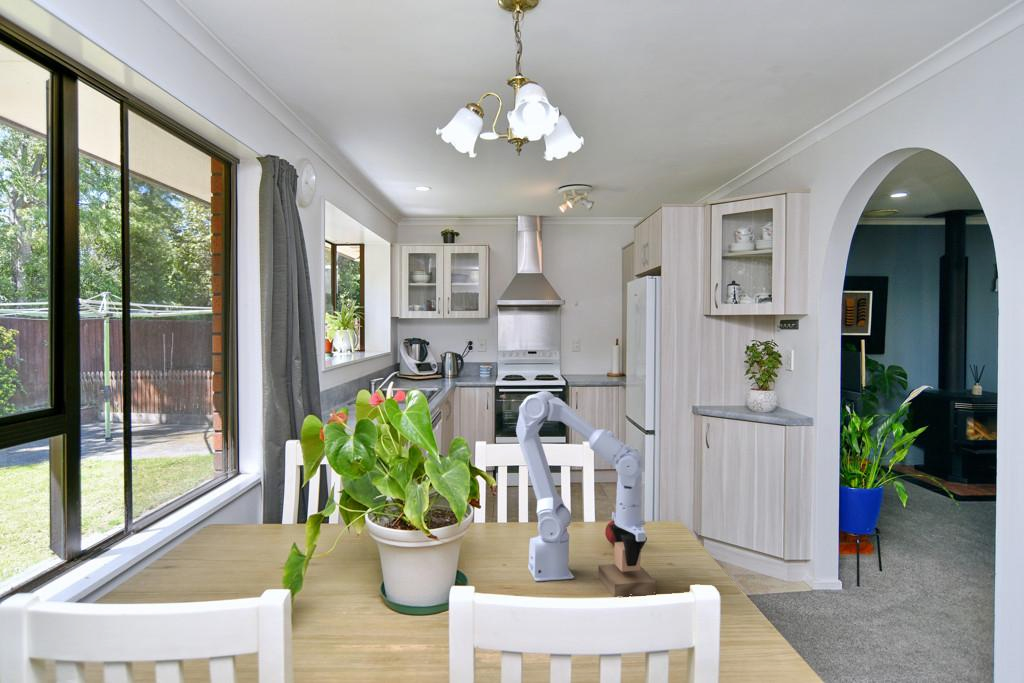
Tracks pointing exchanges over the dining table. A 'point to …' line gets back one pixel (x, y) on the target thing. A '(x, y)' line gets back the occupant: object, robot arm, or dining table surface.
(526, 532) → the dining table surface
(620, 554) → the terracotta cube
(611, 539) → the onion
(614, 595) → the walnut base
